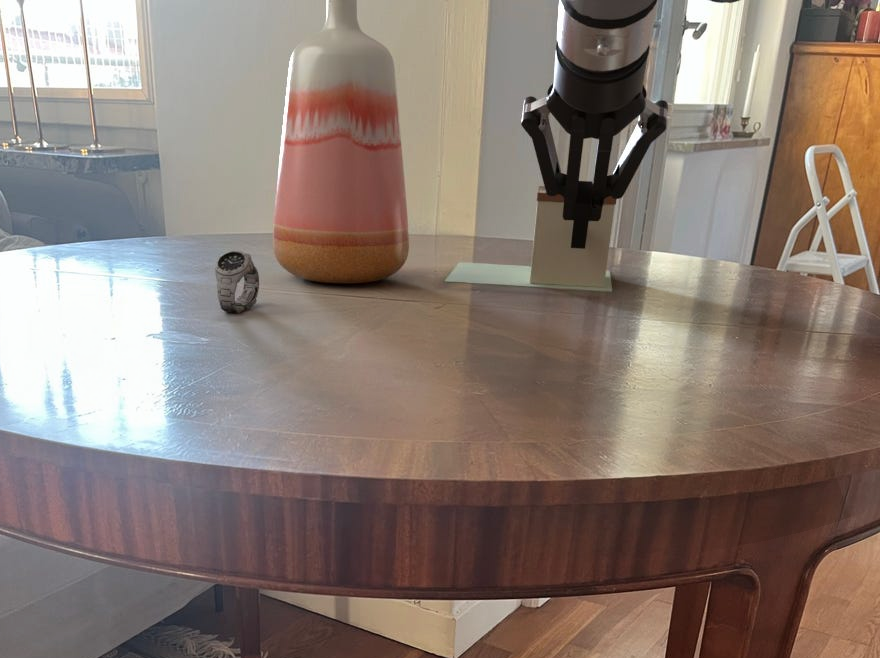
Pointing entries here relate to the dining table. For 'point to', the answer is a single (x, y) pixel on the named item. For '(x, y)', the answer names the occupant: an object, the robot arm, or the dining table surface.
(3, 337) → the dining table surface
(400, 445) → the dining table surface
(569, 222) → the toy box
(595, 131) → the robot arm
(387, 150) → the vase
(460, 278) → the mat
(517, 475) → the dining table surface
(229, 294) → the wristwatch
